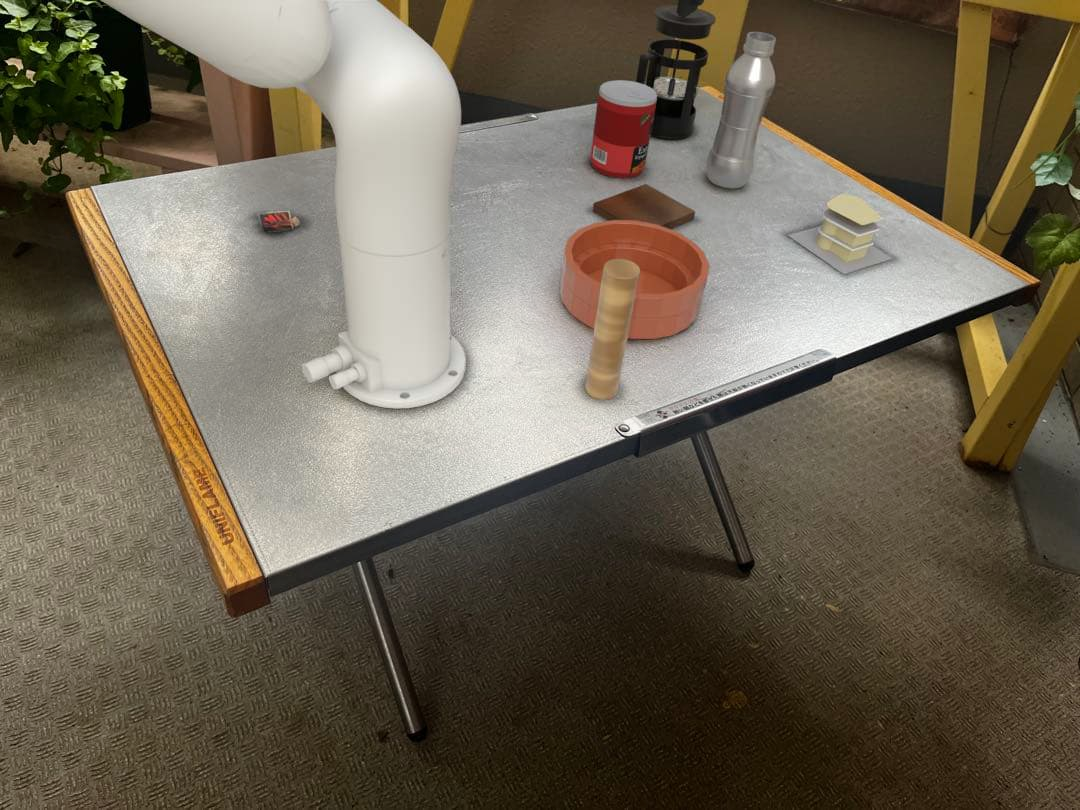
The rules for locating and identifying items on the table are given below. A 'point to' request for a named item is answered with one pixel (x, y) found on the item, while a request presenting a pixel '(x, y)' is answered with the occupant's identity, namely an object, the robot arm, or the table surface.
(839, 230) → the stacked layers on plate
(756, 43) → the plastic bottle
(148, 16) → the robot arm
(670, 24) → the french press
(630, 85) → the canned food
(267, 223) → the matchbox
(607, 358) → the stirring stick
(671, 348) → the table surface
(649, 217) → the board
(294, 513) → the table surface
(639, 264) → the bowl
